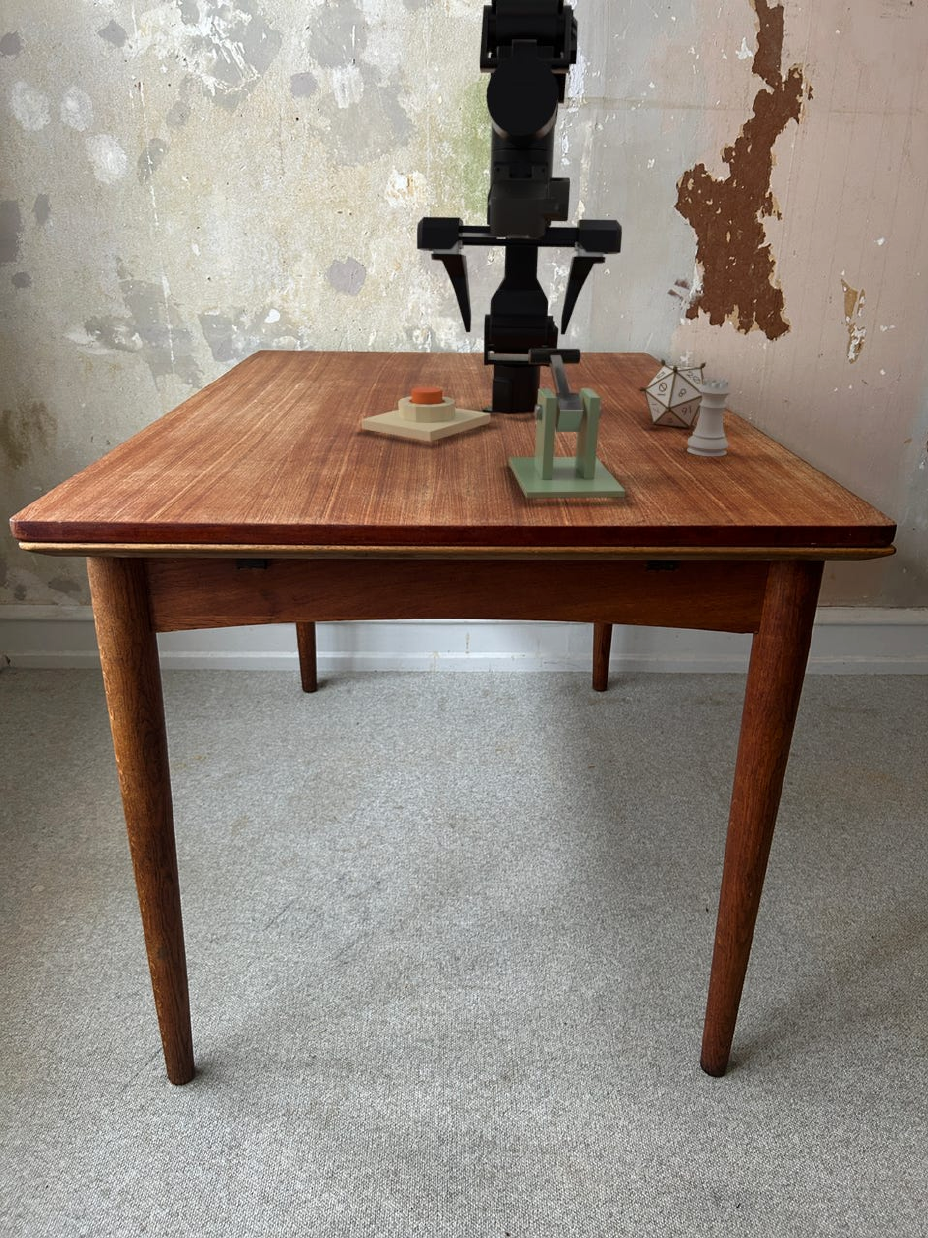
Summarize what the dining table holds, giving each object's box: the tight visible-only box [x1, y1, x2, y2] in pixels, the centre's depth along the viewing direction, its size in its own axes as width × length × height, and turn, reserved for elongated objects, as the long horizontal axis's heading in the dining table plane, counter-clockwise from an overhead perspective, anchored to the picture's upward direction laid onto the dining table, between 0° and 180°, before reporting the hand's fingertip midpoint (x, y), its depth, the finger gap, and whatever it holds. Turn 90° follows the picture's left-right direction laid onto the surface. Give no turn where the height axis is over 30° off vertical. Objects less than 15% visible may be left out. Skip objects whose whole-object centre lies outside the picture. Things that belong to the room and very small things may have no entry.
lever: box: [527, 348, 583, 433], centre depth 85 cm, size 11×5×2 cm, turn 5°
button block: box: [360, 395, 491, 442], centre depth 105 cm, size 12×10×4 cm
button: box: [410, 386, 443, 405], centre depth 104 cm, size 4×4×2 cm
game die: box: [637, 358, 707, 430], centre depth 106 cm, size 9×8×10 cm
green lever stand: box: [508, 387, 626, 499], centre depth 84 cm, size 12×9×9 cm
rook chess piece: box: [686, 378, 732, 457], centre depth 94 cm, size 4×4×8 cm
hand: (515, 333), depth 86 cm, fingers open, 9 cm apart
